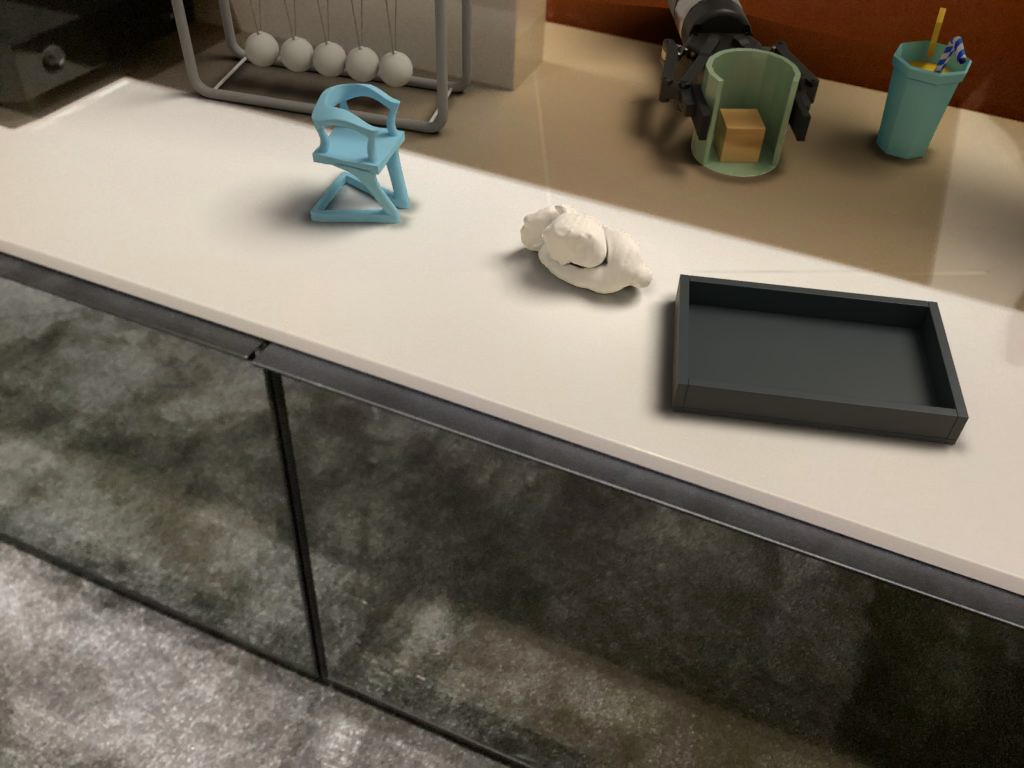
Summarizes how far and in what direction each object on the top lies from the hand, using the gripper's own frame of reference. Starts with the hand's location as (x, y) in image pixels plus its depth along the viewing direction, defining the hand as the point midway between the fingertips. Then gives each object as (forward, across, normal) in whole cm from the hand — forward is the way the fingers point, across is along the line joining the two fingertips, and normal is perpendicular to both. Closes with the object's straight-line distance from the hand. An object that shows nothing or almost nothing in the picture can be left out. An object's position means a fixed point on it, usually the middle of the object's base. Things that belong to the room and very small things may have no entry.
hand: (754, 128), depth 95 cm
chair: (+5, +38, -6) cm, 39 cm away
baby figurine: (+15, +18, -6) cm, 24 cm away
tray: (+28, +1, -6) cm, 29 cm away
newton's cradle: (-17, +44, -6) cm, 47 cm away
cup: (-5, -18, -6) cm, 20 cm away
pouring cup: (-4, 0, -6) cm, 7 cm away
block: (-4, 0, -5) cm, 7 cm away
